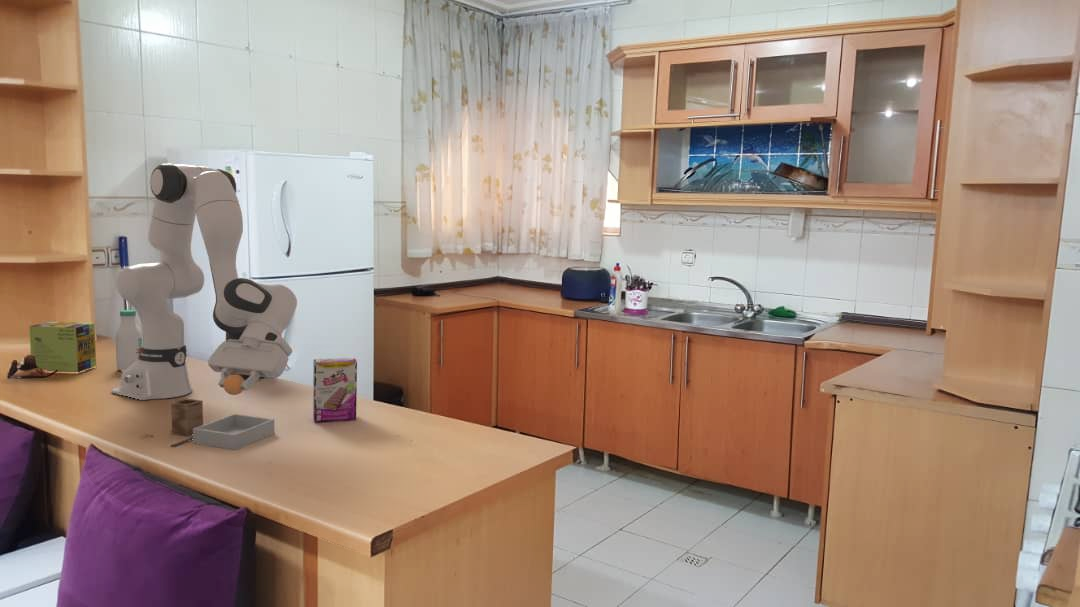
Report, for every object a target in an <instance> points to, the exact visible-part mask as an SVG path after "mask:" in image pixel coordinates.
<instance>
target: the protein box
mask: <svg viewBox="0 0 1080 607" xmlns="http://www.w3.org/2000/svg"><path fill="white" fill-rule="evenodd" d="M95 328H96V326H95V322H79V321H75V322H73V321H48V322H43V323H37V324H33V325H30V326H29V344H30V346H29V347H30V356H31V355H33V356H35V360H36V365H37V366H38V367H39V368H42V369H44V370H47V371H54V370H58V372H80V371H83V370H86V369H89V368H92V367H94V366H96V367H97V354H96V353H97V351H96V350H97V349H96V334H95V332H96V331H95V330H96V329H95Z"/></svg>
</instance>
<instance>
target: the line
mask: <svg viewBox="0 0 1080 607" xmlns="http://www.w3.org/2000/svg"><path fill="white" fill-rule="evenodd" d="M192 439H193V436H192V437H191V436H190V437H189V438H187V439H184V440H181V441H177V442H176V443H173V444H171V445H170V447H172V446H175V447H177V445H178V446H180V445H179V444H181V445H182V443H183V444H185V443H184V442H186V443H188V442H187V441H189V440H191V441H193V440H192ZM189 442H190V441H189Z"/></svg>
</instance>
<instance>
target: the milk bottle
mask: <svg viewBox="0 0 1080 607" xmlns="http://www.w3.org/2000/svg"><path fill="white" fill-rule="evenodd" d="M136 313H137V311H136V310H135V309H123V310H120V311H119V318H120V323H119V326H118V328H117V330H116V334H115V356H116V357H115V358H116V360H115V361H116V370H117V369H118V370H126V369H127V368H128V367H129V366H131V365H132V364H133V363H134V362H136V361H137V360H138V357H139V354H140V353H136V352H137V351H139V350H136V349H140V348H142V347H143V339H142V330H141V329H140V327H139V324H137V320H136V316H137V314H136ZM118 370H117V371H118Z"/></svg>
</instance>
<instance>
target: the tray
mask: <svg viewBox="0 0 1080 607" xmlns="http://www.w3.org/2000/svg"><path fill="white" fill-rule="evenodd" d="M274 434H275V419H272V418H266V417H259V416H253V415H252V416H251V415H245V414H239V413H233V414H230V415H227V416H224V417H222V418H218V419H215V420H213V421H210V422H207V423H205V424H204V423H203V425H202V426H199V427H196V428H193V435H192V437H193V440H192V443H193V444H195V443H199V444H198V445H201V444H204V445H203V446H207V445H210V446H209V447H213V446H216V447H215V448H220V447H221V449H227V450H231V451H233V450H234V451H236V450H239V449H240V448H243V447H246V446H248V445H250V444H253V443H255V442H257V441H260V440H262V439H264V437H265V438H267V437H269V436H272V435H274ZM238 448H239V449H238Z"/></svg>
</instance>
